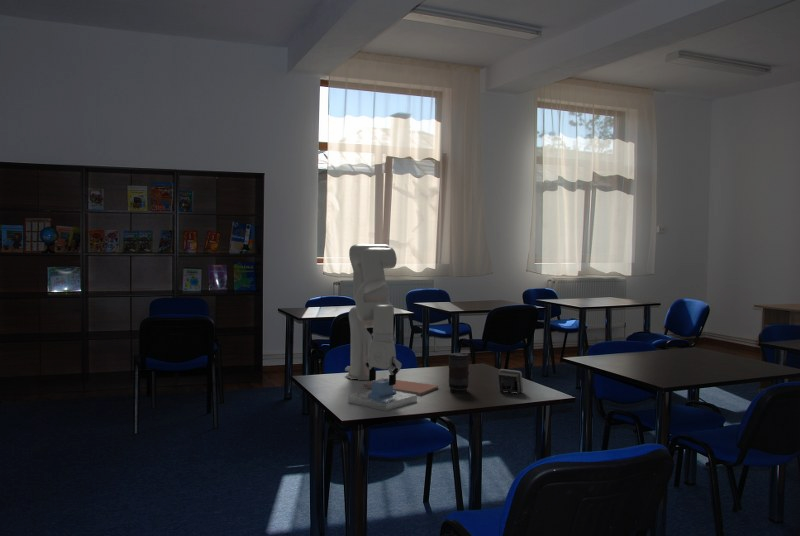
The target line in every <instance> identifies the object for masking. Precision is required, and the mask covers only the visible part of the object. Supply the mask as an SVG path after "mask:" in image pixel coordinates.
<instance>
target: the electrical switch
mask: <svg viewBox="0 0 800 536" xmlns="http://www.w3.org/2000/svg"><path fill="white" fill-rule="evenodd" d="M498 385H499V392H501V391H509V392H512V391H513V392H517V393H519V394H521V393H520V392H522V393H523V392H524V384H523V373H522V371H521V370H514V369H513V370H512V369H503V368H500V369H499V370H498Z"/></svg>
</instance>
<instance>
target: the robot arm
mask: <svg viewBox="0 0 800 536" xmlns="http://www.w3.org/2000/svg"><path fill="white" fill-rule="evenodd" d="M348 252H349V253H348V254H349V256H348V257H349V261H350V264H351V267H352V273H353V275H352V276H353V277H352V278H353V279H352V298H353V301H354V302H355V306H353V307H351V308H349V309H350V310H349V312H348V321H349V328H350V331H349V332H350V365H347V366H346V367H345V368H344V371H345V372H348V374H346V378H347V379H348V378H350V379H349V380H352V379H358V380H357V381H368V382H372V381H375V380H377V369H379V370H388V372H389V375H388V379H389V385H390V386H392V385H395V384H396V380H397V374H398V373H399V372H400V370H401V368H402V365H403V364H402V362H400V361H399V360H398V359H397V354H396V345H395V342H394V313H395V308H394V305H393V304H392V303H391V302H390V288H389V285H388V284H387V283H386V275H385V270H384V269H394V268H395V267H396V265H397V262H398V261H397V260H398V259H397V258H398V257H397V255H396V254H397V253H396V251H395V249H394V248H393V247H391V245H389V244H379V243H378V244H377V243H376V244H375V243H374V244H373V243H372V244H371V243H370V244H369V243H357V244H352V245H351V246H350V248H349V251H348ZM369 328H372V333H370V331H368V329H369Z"/></svg>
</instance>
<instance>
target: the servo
mask: <svg viewBox="0 0 800 536" xmlns="http://www.w3.org/2000/svg"><path fill="white" fill-rule="evenodd" d="M382 378H383V379H382ZM382 378H381V379H382V380H378V379H377V380H378V381H375V380H374V381H373V382H372V381H371V382H372V389H371V390H372V393H370V394H368V396H369V397H374V398H384V397H388V396H392V395H393V394H394V393H396V391H394V390H393V385H392V386H390V385H389V380H388V379H389V377H382Z"/></svg>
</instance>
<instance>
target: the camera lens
mask: <svg viewBox="0 0 800 536" xmlns="http://www.w3.org/2000/svg"><path fill="white" fill-rule="evenodd" d="M469 360H470V358H469V354H468V353H464V352H453V353H449V354H448V387H449V391H450V392H451V393H454V394H455V393H456V394H464V393H467V391H468V387H469V375H470V371H469V368H470V367H469V366H470V365H469V364H470V361H469Z"/></svg>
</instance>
